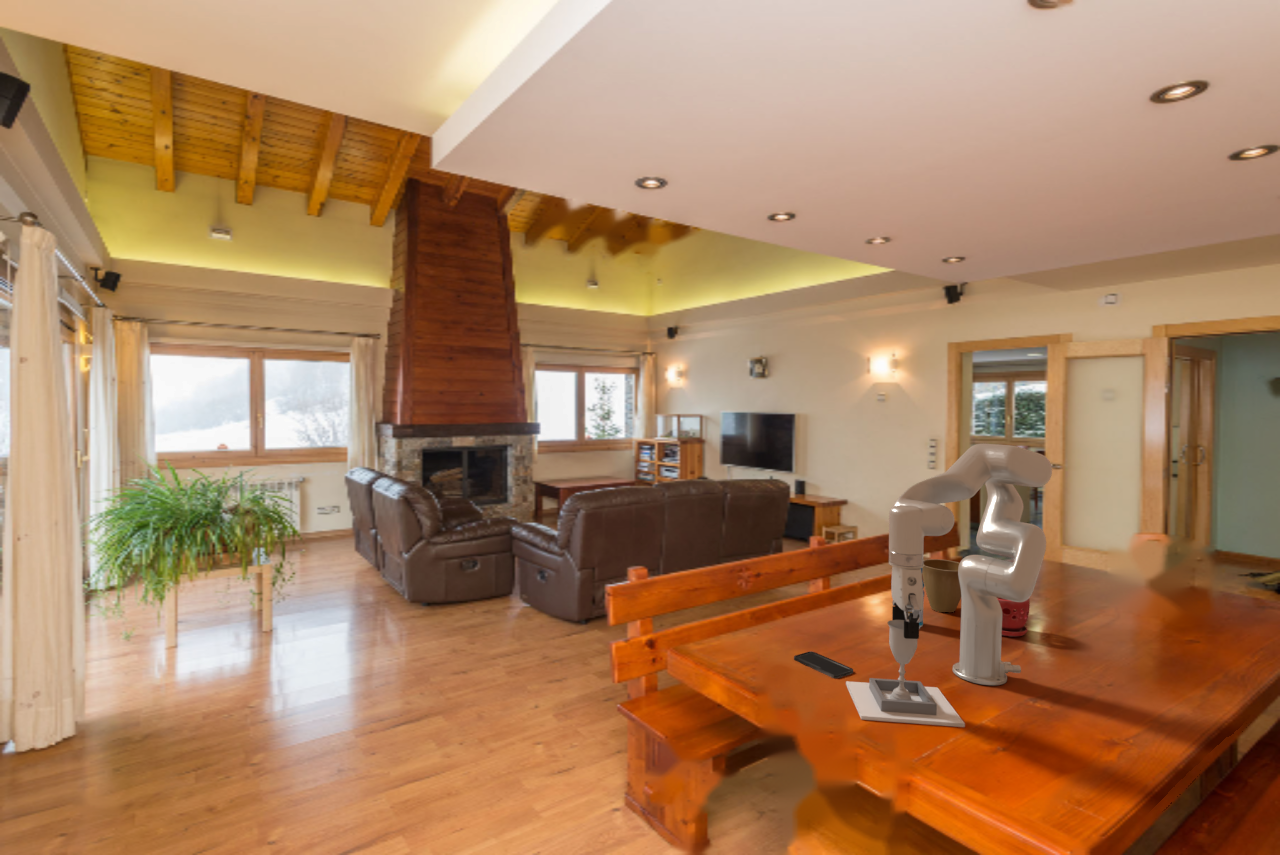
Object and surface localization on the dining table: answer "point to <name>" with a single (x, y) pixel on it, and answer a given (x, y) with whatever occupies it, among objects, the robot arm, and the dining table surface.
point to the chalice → (901, 655)
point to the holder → (902, 703)
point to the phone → (823, 664)
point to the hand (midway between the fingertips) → (905, 630)
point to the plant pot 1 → (942, 584)
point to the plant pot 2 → (1014, 617)
